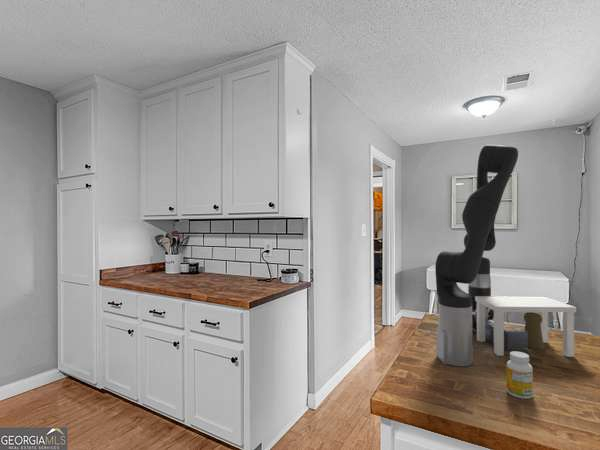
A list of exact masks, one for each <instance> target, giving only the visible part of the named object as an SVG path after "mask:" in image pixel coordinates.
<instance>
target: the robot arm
mask: <svg viewBox="0 0 600 450" xmlns="http://www.w3.org/2000/svg"><path fill="white" fill-rule="evenodd" d="M518 158H519V150H518V148H516V146H511V145H497V144H486V145H484V146H483V147H482V148H481V150H480V152H479V155H478V160H477V168H476V170H477V173H476V190H475V191H473V193H471V194H470V196H469V197H468V198H467V200H466V203H465V206H464V208H463V210H462V213H461V218H462V222H463V226H464V228H465V231H466V235H464V238H463V244H464V250H463V251H450V250H444V251H441V252H440V253H439V254H438V255H437V257H436V260H435V267H434V268H435V284H436V293H437V294H436V295H437V297H438V325H437V326H436V357H437V358H438V359H439V360H440V361H441V363H442V364H443V365H449V366H454V367H469V366H471V365H473V330H472V328H473V329H474V330H475V331H477V301H475V296H492V278H491V261H490V259H489V258H487V257H485V256H484V257H483V255H484V252H489V251H492V250H493V249H494V248H495V247H496V244H497V243H496V241H497V239H496V234H495V233H496V232H495V221H496V217H497V213H498V210H499V207H500V204H501V202H502V198H503V196H504V192H505V190H506V187H507V185H508V183H509V180H510V178H511V176H512V174H513V172H514V169H515V167H516V165H517V162H518ZM488 173H490V174H491V173H492V174H496V175H495V176H494V177H493V178H492V179H491V180H490V181H488V178H489V177H488V175H489V174H488ZM458 283H459V284H465V285H468V289H467V290H468V292H465V291H464V290H463V289H461V287H459V285H458ZM485 319H487V320H489V321H491V320H494V310H492V309H490V308H488V307H486V306H485ZM475 331H474V332H475Z"/></svg>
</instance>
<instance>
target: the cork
mask: <svg viewBox="0 0 600 450" xmlns="http://www.w3.org/2000/svg"><path fill="white" fill-rule="evenodd" d="M523 314H524V315H523V320H524V322H525V325H524V330H525V331H527V332H528V348H533V349H538V350H539V349H540V350H541V349H544V348H545V347H544V343H543V338H542V332H541V326H540V324H541V323H542V316H541V315H540V314H538V312H524V313H523Z"/></svg>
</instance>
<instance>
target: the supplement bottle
mask: <svg viewBox="0 0 600 450" xmlns="http://www.w3.org/2000/svg"><path fill="white" fill-rule="evenodd" d="M529 362H530V355H529V354H527V353H525V352H522V351H518V350H512V351H510V352H509V360H507V362H506V391H507V393H508V394H510V395H511V396H512V397H515V398H519V399H525V400H526V399H531V398H533V395H534V382H533V381H534V380H533V379H534V374H533V373H534V371H533V366H532V365H531V364H530V363H529Z"/></svg>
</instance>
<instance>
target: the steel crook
mask: <svg viewBox="0 0 600 450" xmlns="http://www.w3.org/2000/svg"><path fill="white" fill-rule="evenodd" d="M473 330H474V329H473V328H472V331H473ZM473 332H475V333H476V332H477V331H475V330H474V331H473ZM485 341H487V342H488V343H490V344H491V345H493V346H494V322H492V321H491V320H487V319H485ZM528 348H529V347H528V332H527V331H525V329H512V328H511V329H507V328H506V329H505V328H504V351H528V350H529V349H528Z"/></svg>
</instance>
